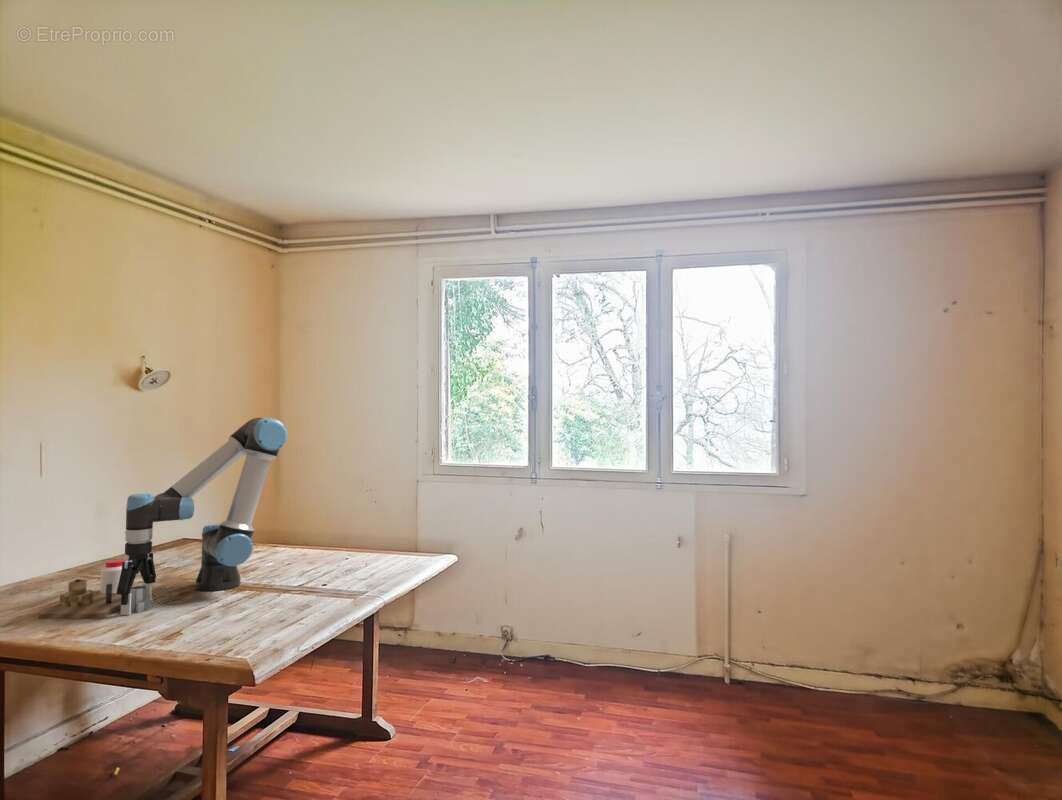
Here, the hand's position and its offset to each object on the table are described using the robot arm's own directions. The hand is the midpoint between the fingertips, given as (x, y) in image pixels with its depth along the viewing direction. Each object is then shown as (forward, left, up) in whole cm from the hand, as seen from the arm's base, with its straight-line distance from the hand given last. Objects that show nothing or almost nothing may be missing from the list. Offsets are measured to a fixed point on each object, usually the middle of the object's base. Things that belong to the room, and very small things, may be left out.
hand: (136, 608), depth 201 cm
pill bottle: (+19, -20, 0) cm, 28 cm away
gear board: (+15, -2, 0) cm, 15 cm away
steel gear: (0, 0, 0) cm, 0 cm away
